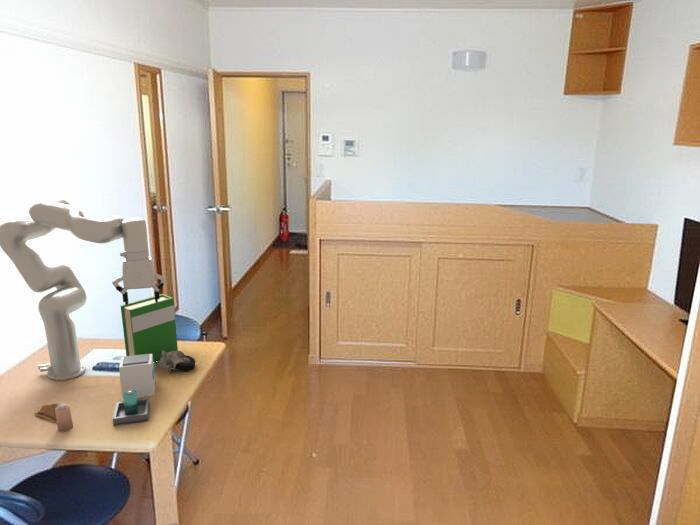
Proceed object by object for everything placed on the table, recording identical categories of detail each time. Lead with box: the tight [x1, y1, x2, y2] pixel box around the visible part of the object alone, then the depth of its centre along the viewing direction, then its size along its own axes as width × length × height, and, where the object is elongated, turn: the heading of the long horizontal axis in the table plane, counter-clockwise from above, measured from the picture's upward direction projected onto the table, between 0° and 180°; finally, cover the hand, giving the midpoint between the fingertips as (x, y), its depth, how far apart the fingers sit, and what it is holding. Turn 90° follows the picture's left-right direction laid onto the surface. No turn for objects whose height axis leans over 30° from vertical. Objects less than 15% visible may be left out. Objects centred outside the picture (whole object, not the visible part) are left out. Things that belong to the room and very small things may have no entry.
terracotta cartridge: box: [55, 403, 74, 432], centre depth 160 cm, size 4×4×8 cm
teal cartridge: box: [123, 390, 139, 416], centre depth 167 cm, size 4×4×8 cm
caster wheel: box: [158, 350, 197, 374], centre depth 199 cm, size 7×11×10 cm
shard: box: [34, 402, 62, 423], centre depth 167 cm, size 11×8×2 cm
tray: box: [112, 397, 151, 427], centre depth 168 cm, size 10×10×2 cm
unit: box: [118, 354, 156, 400], centre depth 181 cm, size 11×8×13 cm
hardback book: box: [120, 293, 179, 363], centre depth 204 cm, size 18×7×24 cm, turn 140°
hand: (141, 302), depth 182 cm, fingers open, 9 cm apart
